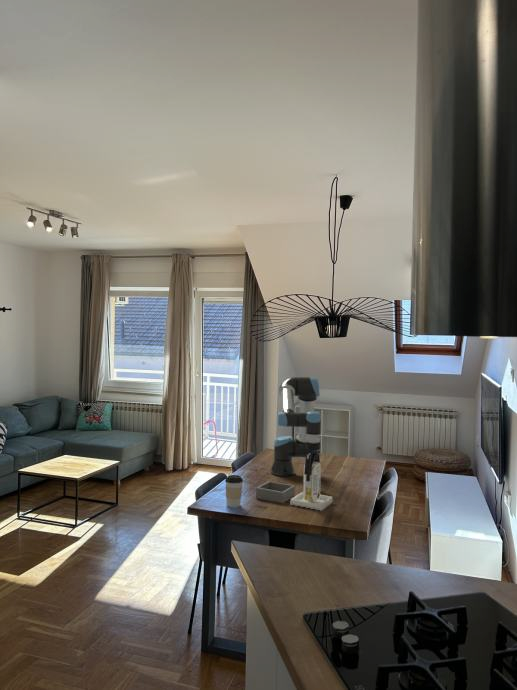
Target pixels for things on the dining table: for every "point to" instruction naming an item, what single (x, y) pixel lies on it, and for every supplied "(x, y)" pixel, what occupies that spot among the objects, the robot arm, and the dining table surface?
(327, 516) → the dining table surface
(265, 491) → the grey open box
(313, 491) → the juice carton
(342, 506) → the dining table surface
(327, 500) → the tray
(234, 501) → the coffee cup
